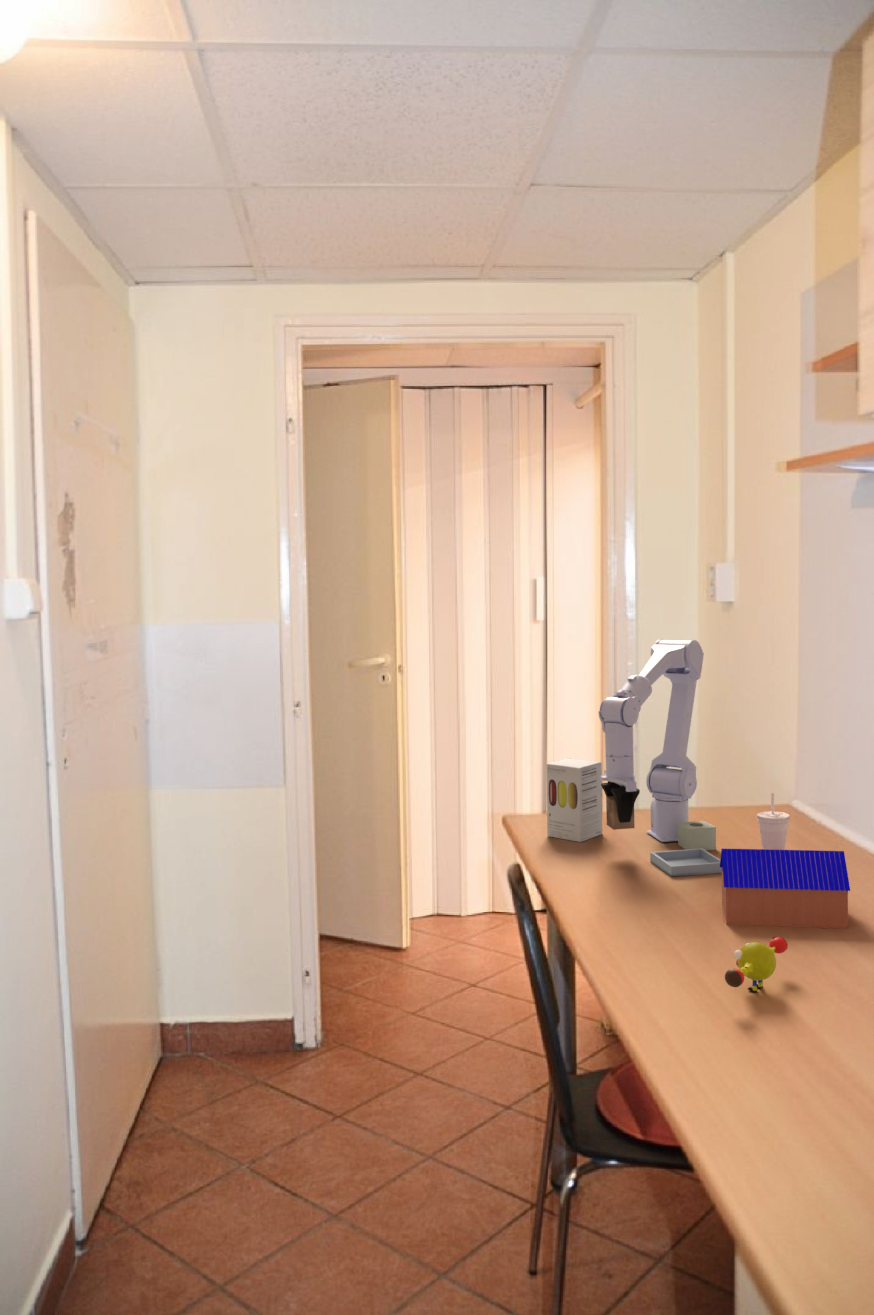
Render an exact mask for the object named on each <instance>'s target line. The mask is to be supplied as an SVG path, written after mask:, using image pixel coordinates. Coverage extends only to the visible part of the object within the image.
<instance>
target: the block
mask: <svg viewBox="0 0 874 1315" xmlns="http://www.w3.org/2000/svg"><path fill="white" fill-rule="evenodd" d="M605 804H606V806H605V807H606V809H605V810H606V826H608V827H609V828H610V829H612V830H613V831H615V830H616V831H617V830H626V829H629V830H630V829H635V805H634V806H633V811H632V815H631V820H630V822H623V823H620V822H619V818H618V812H617V806H616V801H615V798H614V796H608V797H606V796H605Z"/></svg>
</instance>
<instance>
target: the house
mask: <svg viewBox="0 0 874 1315" xmlns="http://www.w3.org/2000/svg"><path fill="white" fill-rule="evenodd" d="M719 859H720V868H722V873H721V905H722V910H723V915H724V919H725V924H726V925H740V926H741V925H742V926H770V927H772V926H773V927H775V926H776V927H798V928H800V927H801V928H827V929H829V928H830V929H849V927H848V926H849V923H848V922H849V892H850V891H851V887H850V879H849V874H848V869H847V861H846V855H845V851H844V850H812V849H810V850H807V849H804V850H803V849H785V850H767V849H762V848H761V849H760V848H759V849H757V848H752V849H751V848H721V850H720V858H719Z"/></svg>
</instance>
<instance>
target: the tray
mask: <svg viewBox="0 0 874 1315" xmlns="http://www.w3.org/2000/svg"><path fill="white" fill-rule="evenodd" d="M649 857H650V858H649V859H650V863H652V864H653V865H654V866H656V867H657V868H659V869H660V870H661V871H662V872H664V873H665V874H666V875H667V876H669V877H671V878H672V877H673V878H674V877H685V876H698V875H700V876H701V875H710V874H722V868H720V859H721V858H718V857H717V856H715V855H714V854H712V853H711V852H709V851H708V850H704V849H702V848H700V849H673V850H661V851H651V852H650V856H649Z"/></svg>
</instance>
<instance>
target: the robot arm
mask: <svg viewBox="0 0 874 1315" xmlns="http://www.w3.org/2000/svg"><path fill="white" fill-rule="evenodd" d="M703 662H704V652H703V649H702V646H701V644H700V642H699V641H698V640H696V639H690V640H683V639H682V640H681V639H680V640H674V639H662V638H661V639H660V638H659V639H657V640H656V641H655V642H654V644H653V645H652V646H651V648H650V657H649V659H648V661H647V662H646V663H645V665H644V667H642V669H641V670H640V672H639V673H638V674H633V675H629V676H628V678H627V680H626V681H625V682H624V683H623V684H622V686H621V687H620V688H618V690H617V691H616V692H615V693H614V695H613V696H607V697H606V698H605V699H603V701H601V703H600V706H599V711H598V718H599V721H600V722H601V725H602V728H601V729H602V731H603V733H604V739H605V740H604V742H605V744H604V746H605V751H604V752H605V769H604V770H603V771H604V772H603V773H604V775H602V776H600V779H601V780H602V784H601V786H602V791H603V792H604V794H605V798H606V797H608V796H614V798H615V801H616V806H617V812H618V818H619V822H620V823H623V822H630V820H631V815H632V811H633V806H634V807H635V803H636V800H637V799H638V796H639V795H640V789H639V788H638V787H637V781H635V780H636V777H635V776H636V775H635V771H634V769H635V767H634V725H635V724H636V723H637V722H638V720H639V716H640V715H639V714H640V712H641V709H642V708H641V707H642V705H644V703H645V702H646V701H647V700H648V698H649V697H650V696H651V694H652V692H653V688H652V685H654V683H656V681H657V680H659V678H661V676H664V678H667V679H668V680H669V681H670V682H671V690H670V691H671V692H670V698H669V705H668V706H669V707H668V713H667V720H666V726H665V732H664V733H665V734H664V740H663V746H662V752H661V753H659V755H657V756H656V757H654V758H653V759H652V760H651V765H650V768H649V770H648V772H647V775H646V783H645V784H646V787H647V790H648V791H649V793H650V794H651V798H652V801H651V803H650V829H648V830H646V833H647V834H649V835H650V836H652V837H653V838H655V839H656V840H658V841H659V842H661V843H669V842H671V843H672V842H678V823H680V822H690V821H689V820H690V819H689V799H690V800H691V799H692V797H693V795H694V794H695V793H696V790H697V785H698V783H697V782H698V780H697V766H696V765H695V763H694V762H692V761H691V759H690V758H689V757H688V756H687V752H688V747H689V746H688V745H689V744H688V743H689V739H690V738H689V737H690V732H691V731H690V730H691V726H692V717H693V710H694V703H695V696H696V687H697V682H698V680H700V679H701V675H702V671H703ZM669 767H670V768H669ZM604 781H605V782H604ZM606 781H607V782H606Z"/></svg>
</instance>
